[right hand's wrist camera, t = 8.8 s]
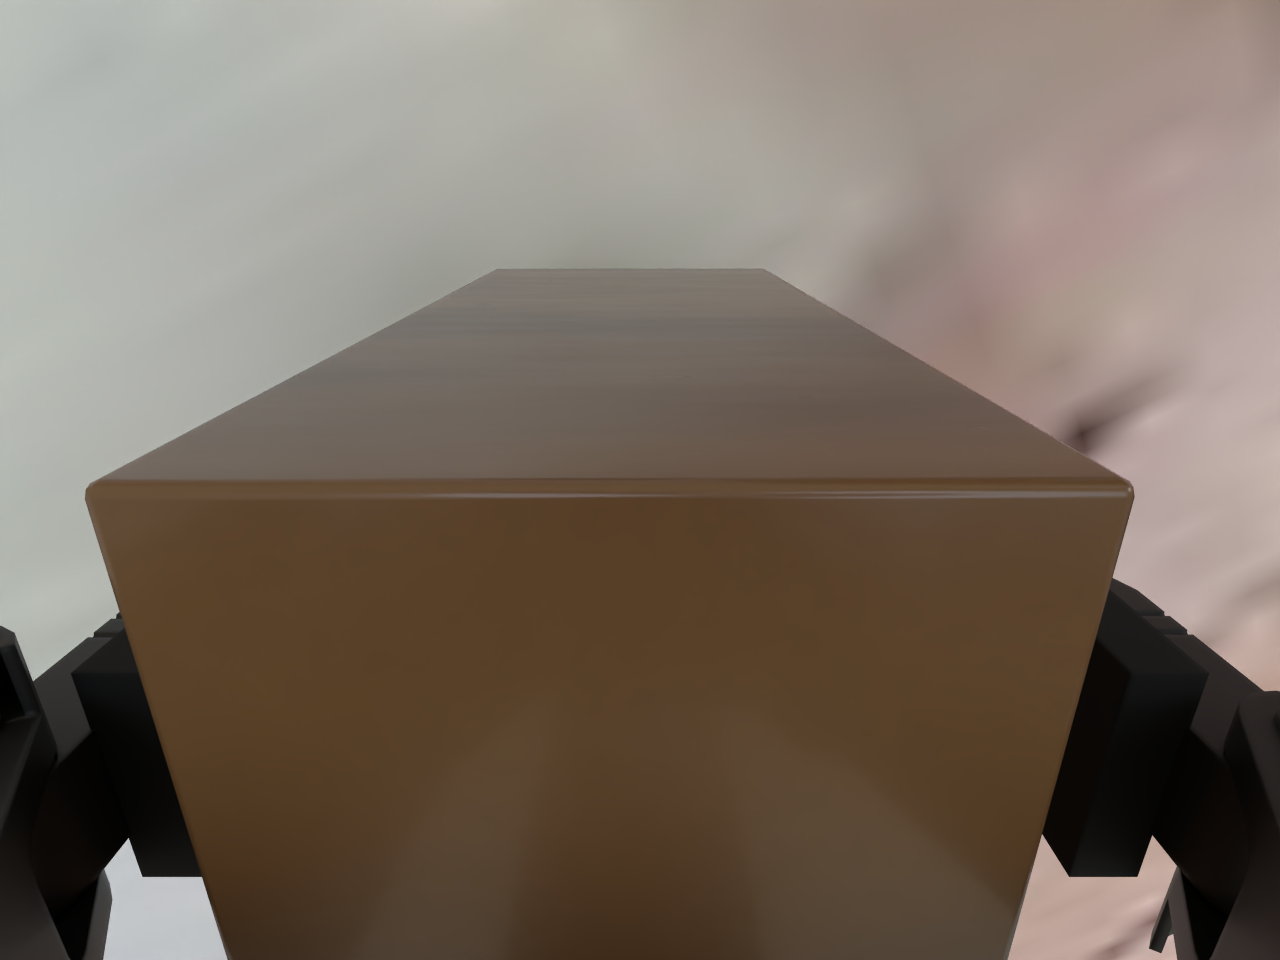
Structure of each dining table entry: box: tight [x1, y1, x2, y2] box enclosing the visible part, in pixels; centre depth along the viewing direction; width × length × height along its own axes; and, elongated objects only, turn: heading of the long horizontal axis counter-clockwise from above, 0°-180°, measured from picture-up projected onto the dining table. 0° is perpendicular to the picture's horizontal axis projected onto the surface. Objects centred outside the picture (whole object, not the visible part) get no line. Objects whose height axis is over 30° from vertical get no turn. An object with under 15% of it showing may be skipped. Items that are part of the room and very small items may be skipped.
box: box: [85, 269, 1134, 960], centre depth 14 cm, size 24×6×13 cm, turn 0°
